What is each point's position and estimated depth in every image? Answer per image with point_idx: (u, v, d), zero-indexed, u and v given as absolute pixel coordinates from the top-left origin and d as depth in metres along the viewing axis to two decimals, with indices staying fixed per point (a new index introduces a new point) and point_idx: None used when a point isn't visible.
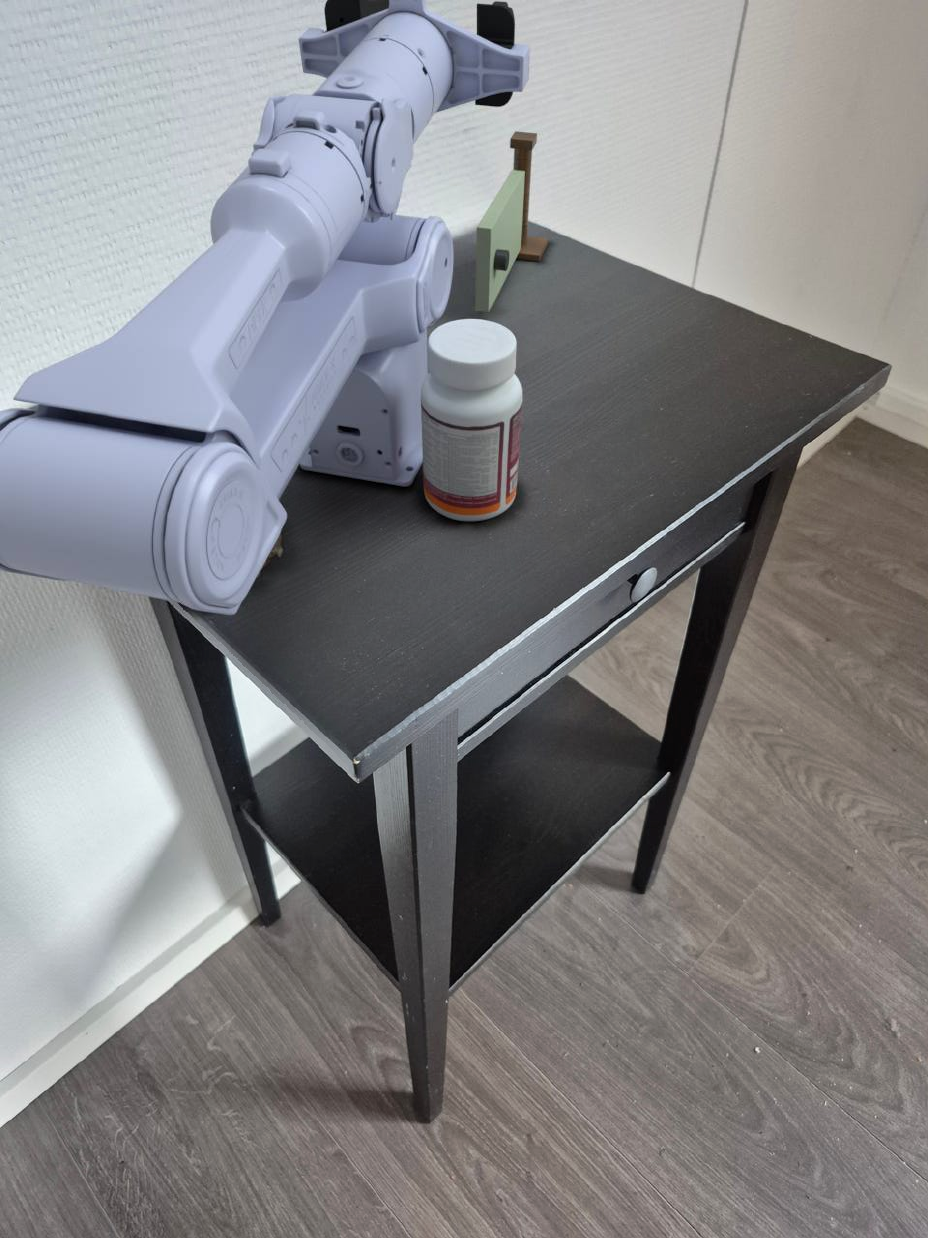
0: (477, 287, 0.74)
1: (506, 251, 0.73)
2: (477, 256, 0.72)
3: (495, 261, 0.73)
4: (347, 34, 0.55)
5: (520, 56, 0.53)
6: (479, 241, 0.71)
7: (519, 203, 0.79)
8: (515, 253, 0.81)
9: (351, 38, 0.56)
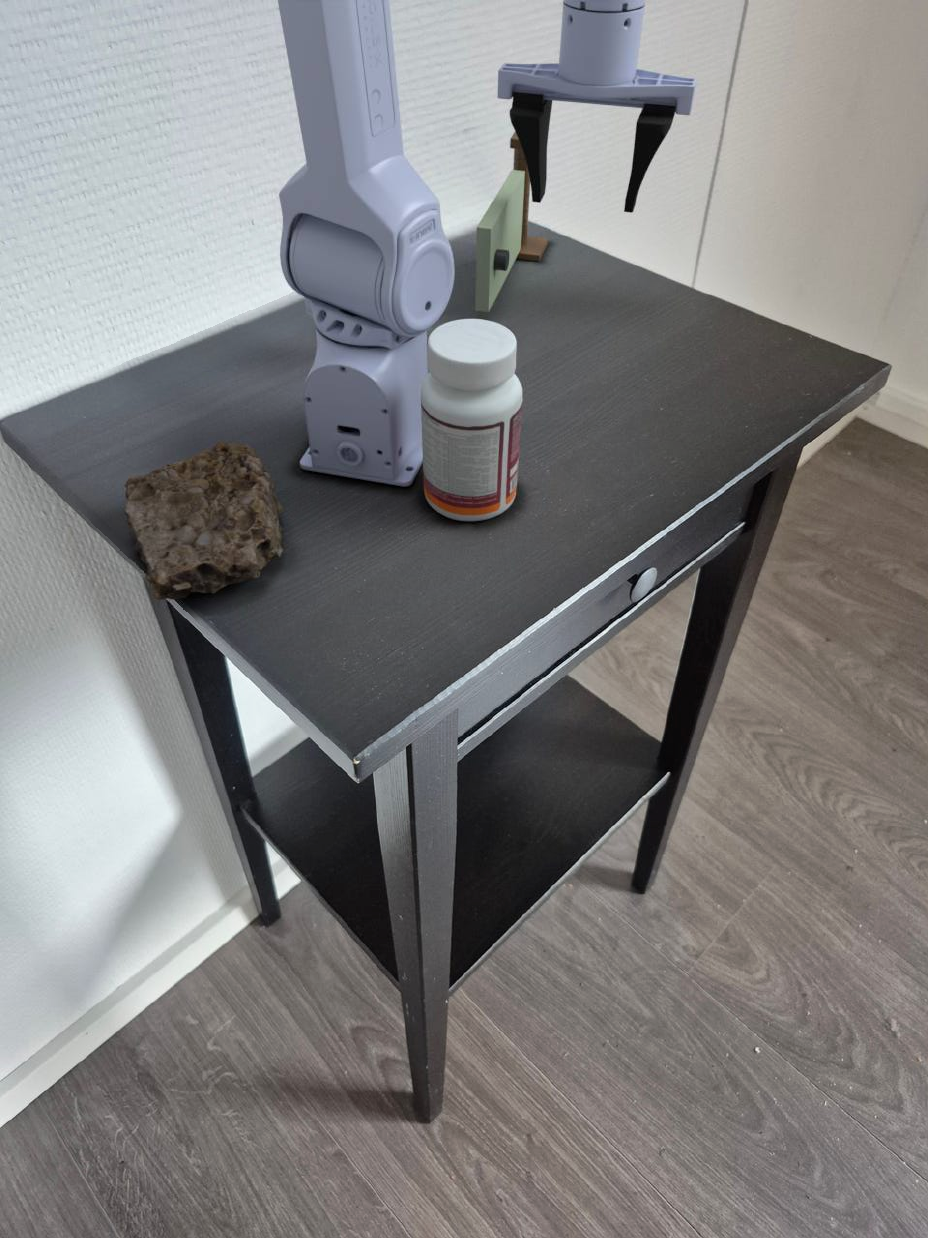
0: (477, 287, 0.74)
1: (506, 251, 0.73)
2: (477, 256, 0.72)
3: (495, 261, 0.73)
4: None
5: (694, 78, 0.65)
6: (479, 241, 0.71)
7: (519, 203, 0.79)
8: (515, 253, 0.81)
9: None
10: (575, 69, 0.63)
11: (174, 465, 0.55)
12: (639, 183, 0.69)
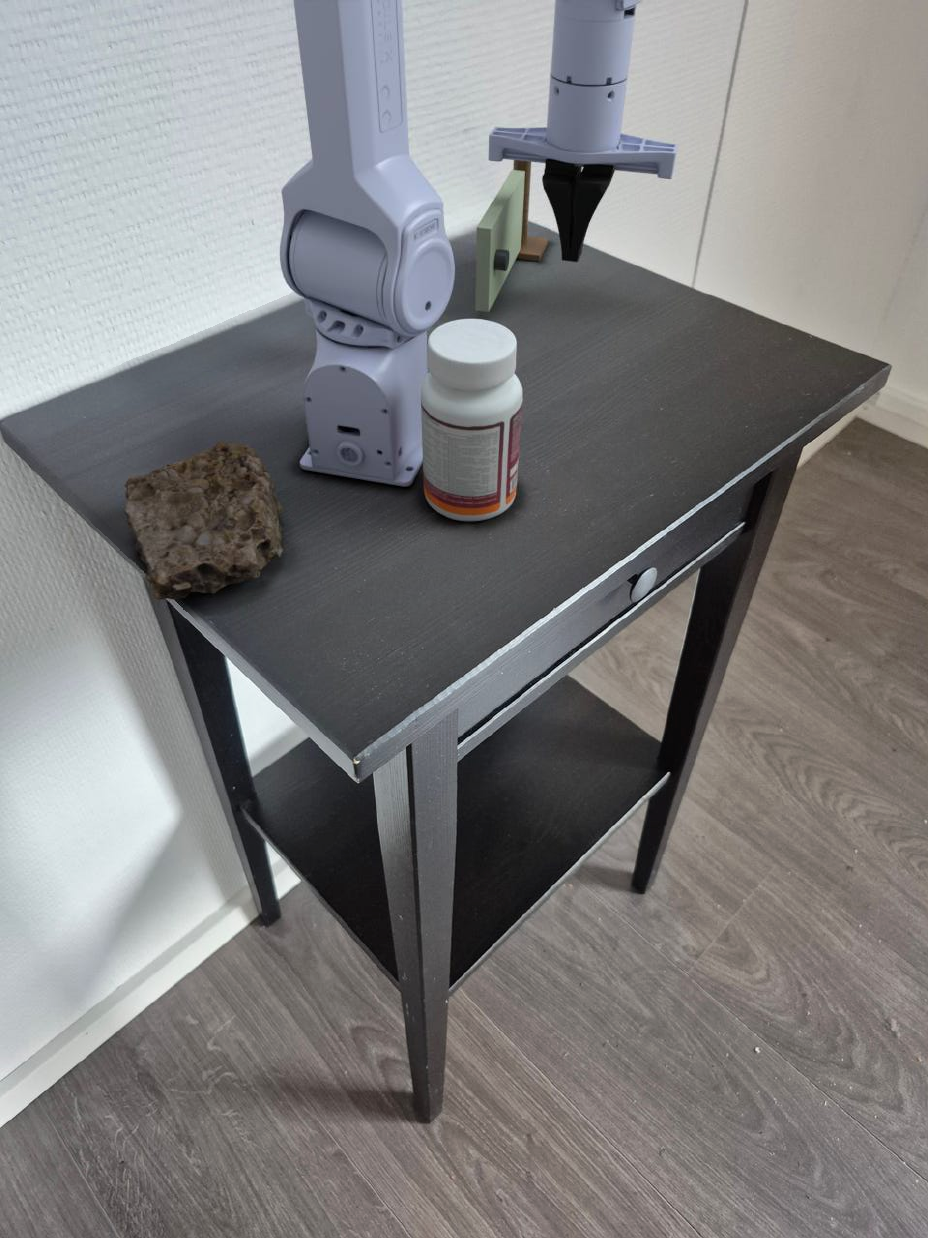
0: (477, 287, 0.74)
1: (506, 251, 0.73)
2: (477, 256, 0.72)
3: (495, 261, 0.73)
4: None
5: None
6: (479, 241, 0.71)
7: (519, 203, 0.79)
8: (515, 253, 0.81)
9: None
10: (562, 136, 0.67)
11: (174, 465, 0.55)
12: (582, 236, 0.73)
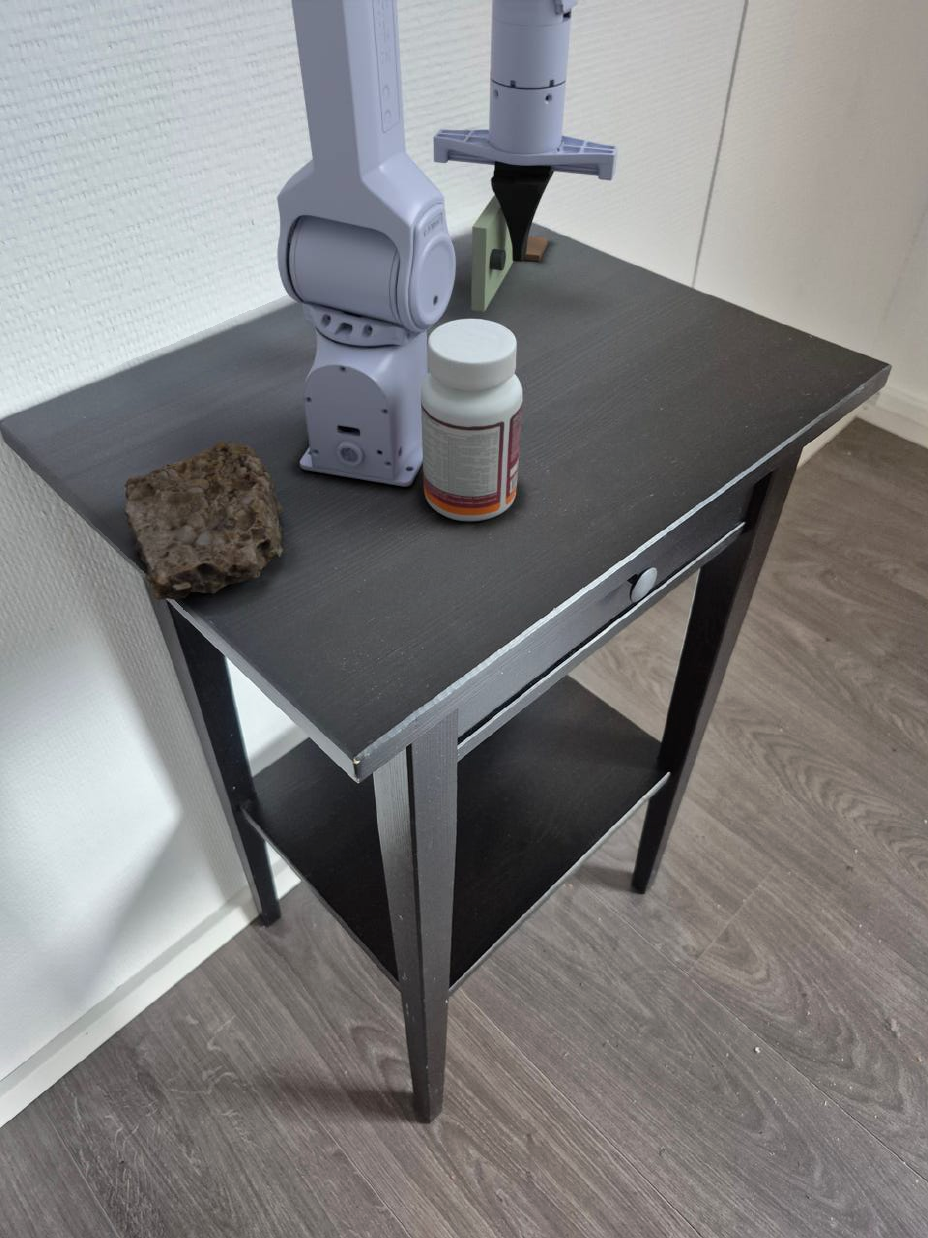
0: (473, 286, 0.74)
1: (502, 251, 0.73)
2: (473, 255, 0.72)
3: (491, 261, 0.73)
4: None
5: None
6: (475, 240, 0.71)
7: None
8: None
9: None
10: (502, 138, 0.68)
11: (174, 465, 0.55)
12: (523, 235, 0.74)
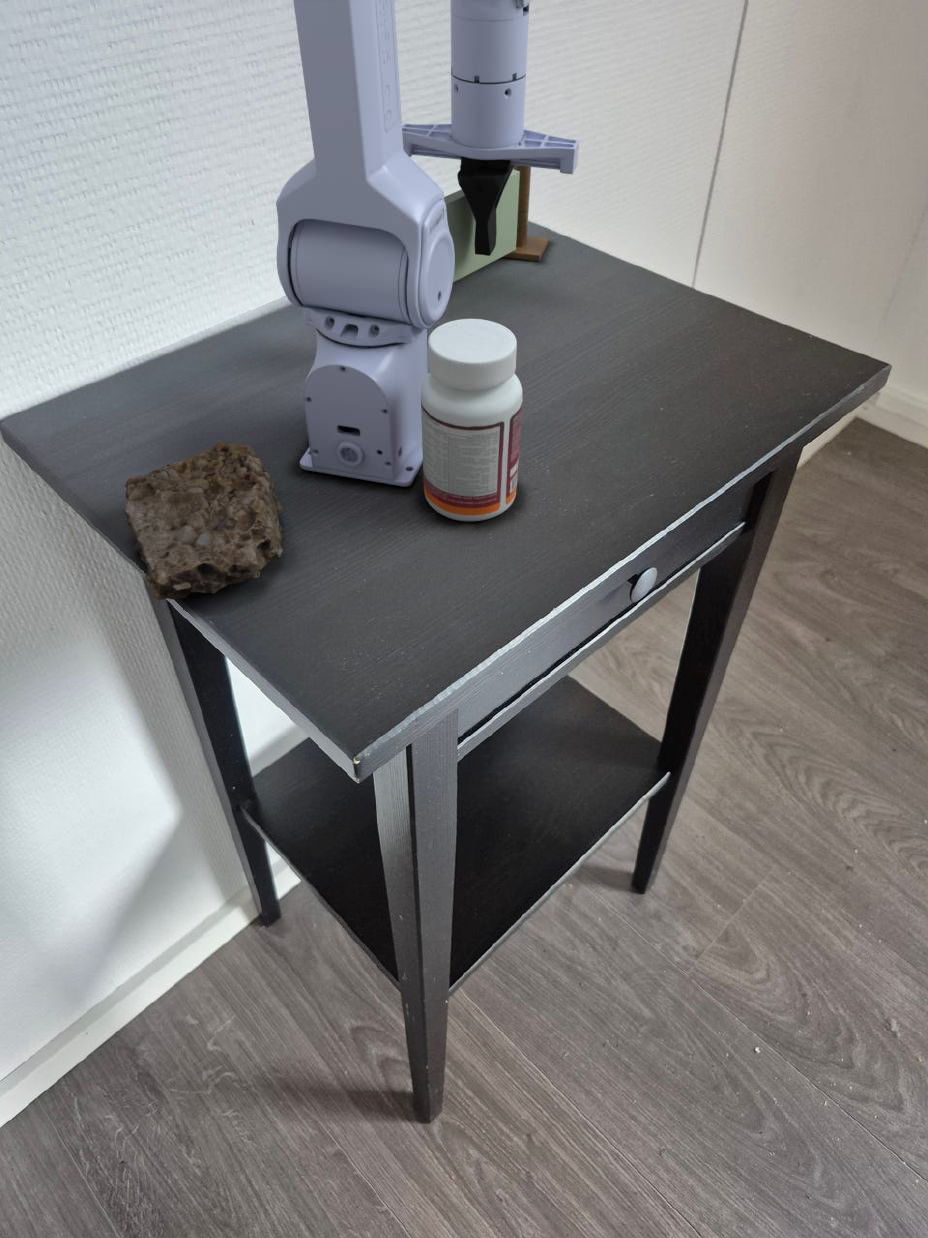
0: None
1: None
2: None
3: None
4: None
5: None
6: None
7: (506, 202, 0.79)
8: (499, 251, 0.82)
9: None
10: (463, 133, 0.68)
11: (174, 465, 0.55)
12: (484, 229, 0.74)
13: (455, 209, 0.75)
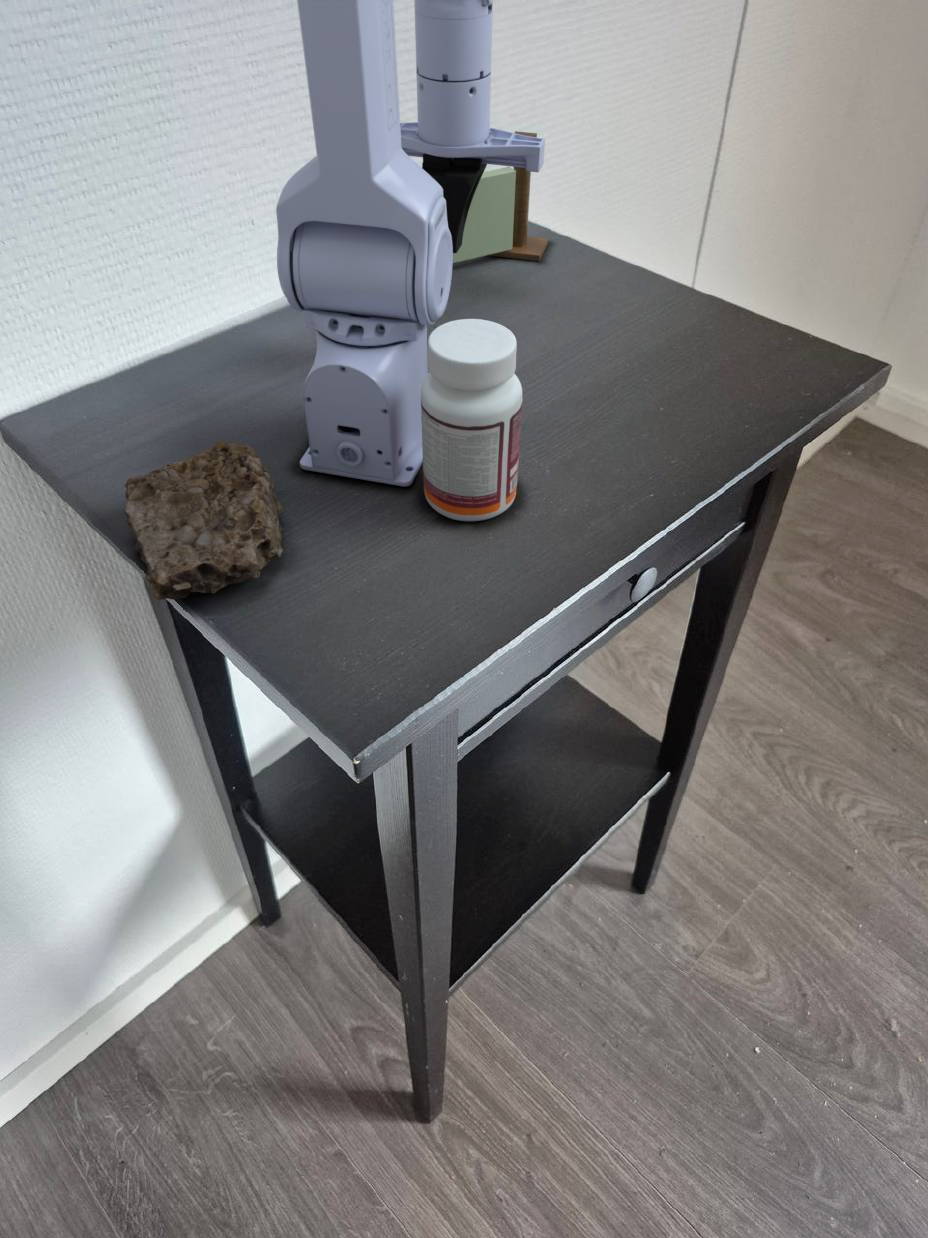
0: None
1: None
2: None
3: None
4: None
5: (542, 138, 0.70)
6: None
7: (498, 199, 0.80)
8: (489, 247, 0.82)
9: None
10: (429, 131, 0.69)
11: (174, 465, 0.55)
12: (457, 227, 0.75)
13: None
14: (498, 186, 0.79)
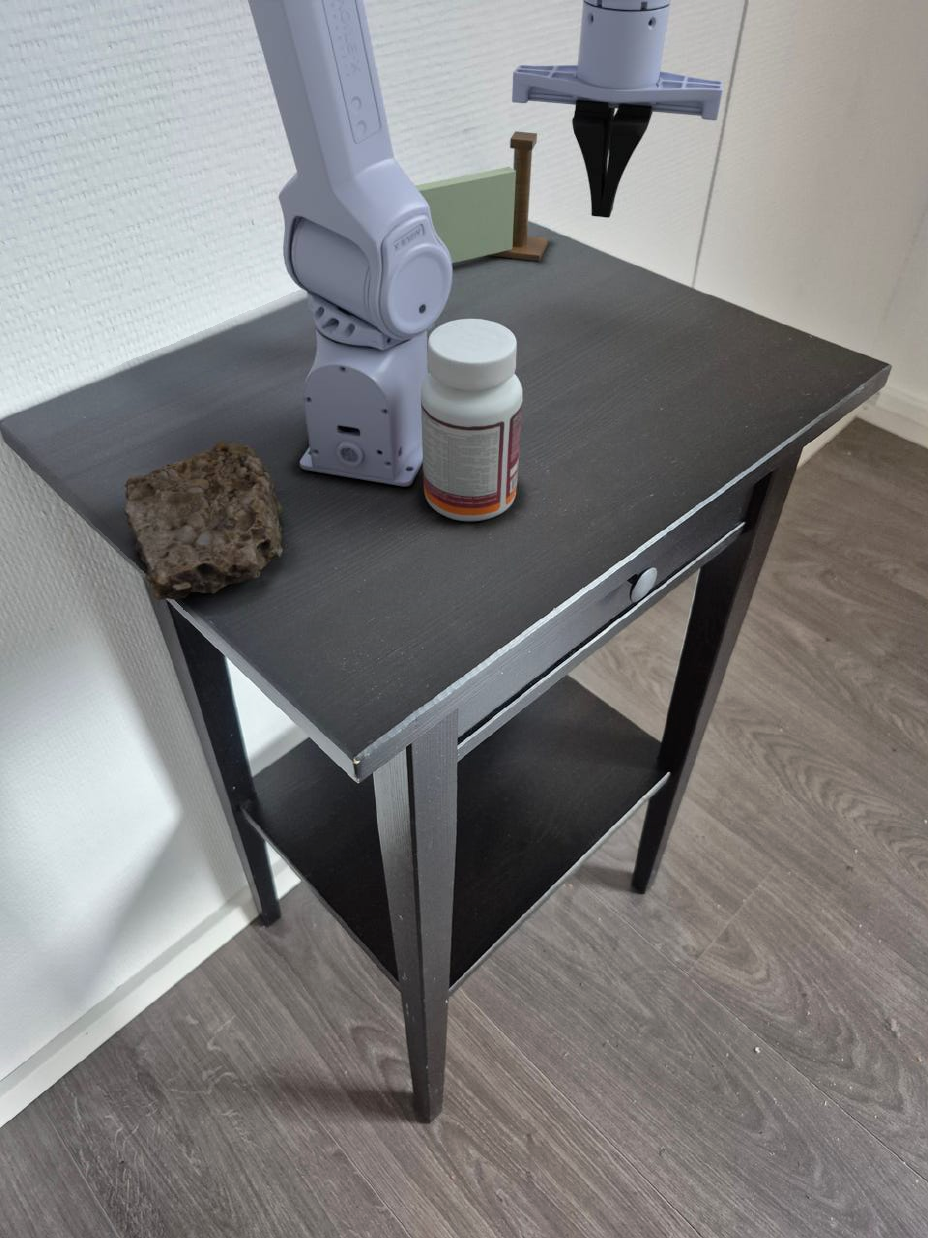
0: None
1: None
2: None
3: None
4: None
5: (721, 81, 0.61)
6: None
7: (498, 199, 0.80)
8: (489, 247, 0.82)
9: None
10: (596, 71, 0.60)
11: (174, 465, 0.55)
12: (615, 187, 0.66)
13: (428, 197, 0.76)
14: (498, 186, 0.79)
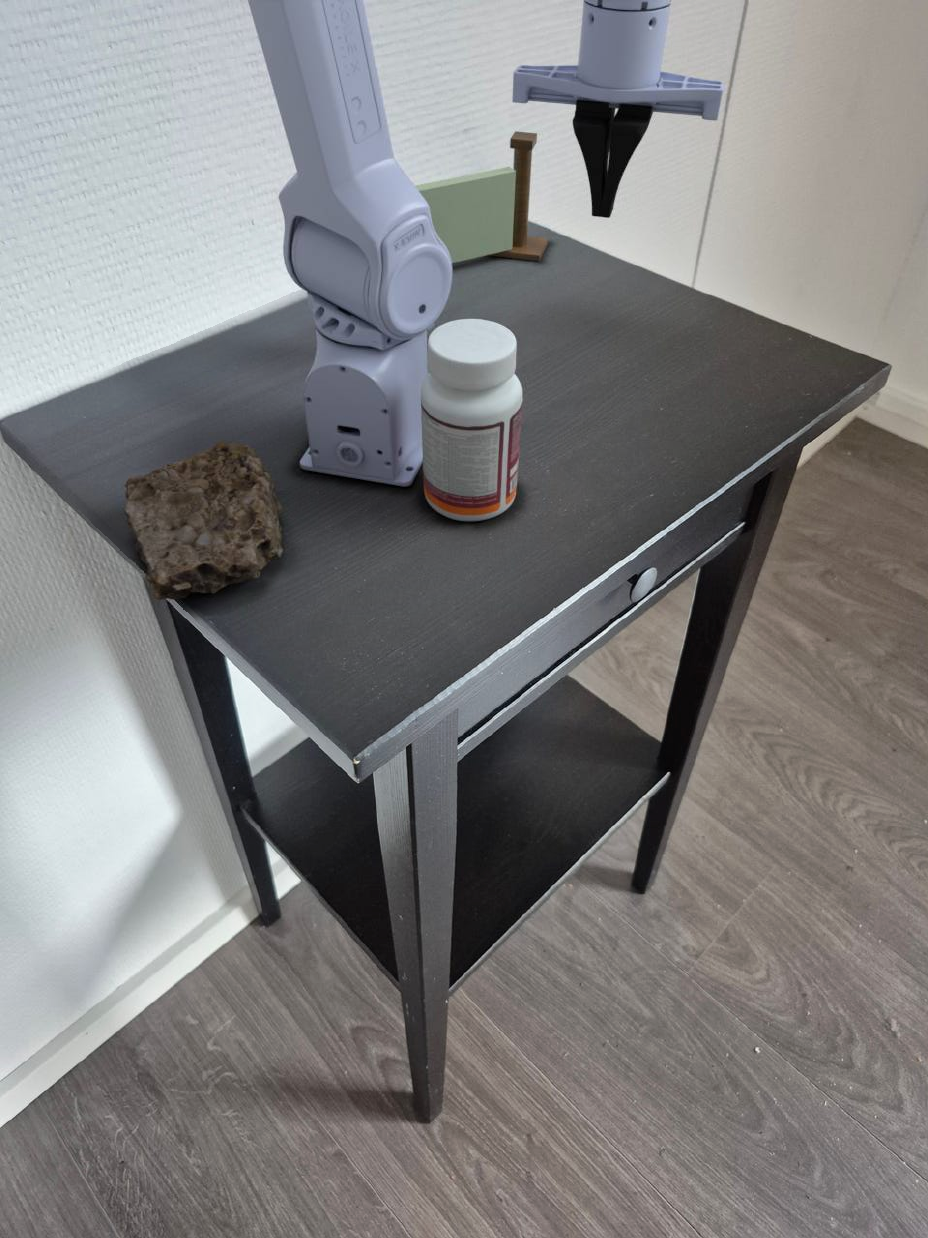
0: None
1: None
2: None
3: None
4: None
5: (722, 81, 0.61)
6: None
7: (498, 199, 0.80)
8: (489, 247, 0.82)
9: None
10: (596, 71, 0.60)
11: (174, 465, 0.55)
12: (615, 187, 0.66)
13: (428, 197, 0.76)
14: (498, 186, 0.79)
